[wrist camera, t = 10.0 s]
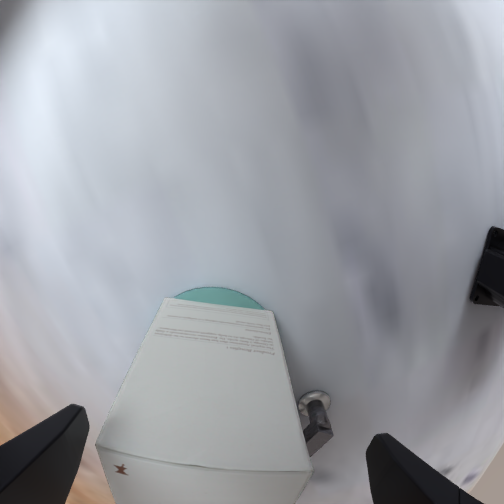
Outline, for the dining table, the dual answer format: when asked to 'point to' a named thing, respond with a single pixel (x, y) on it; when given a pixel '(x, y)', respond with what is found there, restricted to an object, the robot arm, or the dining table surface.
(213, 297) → the teal round disc
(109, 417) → the supplement box
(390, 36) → the dining table surface
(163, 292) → the dining table surface
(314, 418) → the grey cabinet handle
